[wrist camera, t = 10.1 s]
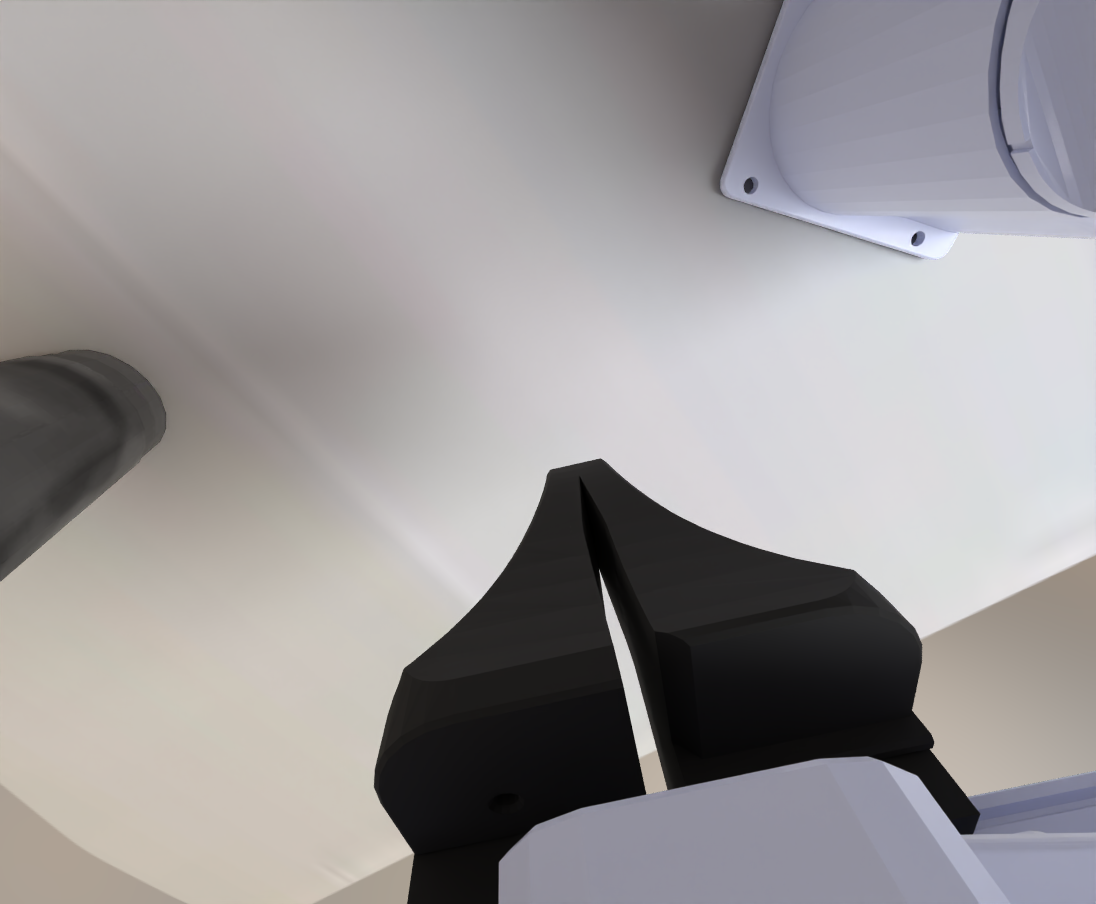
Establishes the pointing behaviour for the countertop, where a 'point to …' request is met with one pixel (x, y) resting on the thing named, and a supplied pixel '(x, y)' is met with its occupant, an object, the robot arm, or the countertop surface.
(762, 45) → the countertop surface
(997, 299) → the countertop surface
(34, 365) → the beverage cup
